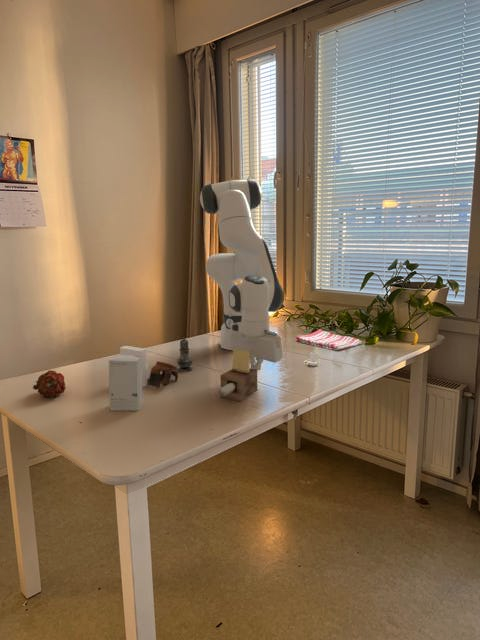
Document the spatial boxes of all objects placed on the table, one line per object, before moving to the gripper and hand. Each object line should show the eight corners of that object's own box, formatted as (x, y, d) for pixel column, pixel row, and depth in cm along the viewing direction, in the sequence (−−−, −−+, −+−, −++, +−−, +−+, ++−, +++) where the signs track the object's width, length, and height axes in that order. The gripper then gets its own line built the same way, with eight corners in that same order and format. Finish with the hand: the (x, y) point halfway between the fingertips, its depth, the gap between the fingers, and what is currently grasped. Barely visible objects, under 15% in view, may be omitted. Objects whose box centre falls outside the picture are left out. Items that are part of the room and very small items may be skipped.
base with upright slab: (154, 381, 156) (152, 346, 154) (135, 390, 149) (133, 353, 146) (134, 377, 161) (132, 343, 158) (114, 385, 153) (112, 349, 151)
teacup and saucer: (314, 369, 170) (314, 358, 169) (297, 364, 176) (298, 353, 175) (329, 364, 175) (330, 353, 174) (313, 359, 181) (314, 349, 180)
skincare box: (109, 411, 132) (106, 360, 129) (115, 403, 138) (112, 354, 135) (139, 411, 132) (136, 360, 129) (143, 403, 138) (141, 354, 135)
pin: (245, 381, 150) (245, 369, 149) (256, 383, 148) (256, 371, 147) (217, 397, 137) (216, 384, 136) (228, 399, 135) (228, 386, 134)
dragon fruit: (56, 407, 139) (45, 401, 149) (77, 385, 143) (64, 381, 153) (35, 388, 136) (25, 383, 145) (57, 366, 139) (46, 363, 149)
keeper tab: (231, 371, 144) (233, 370, 145) (247, 374, 141) (249, 373, 142) (233, 348, 143) (235, 348, 144) (249, 351, 141) (251, 351, 141)
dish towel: (319, 335, 218) (319, 328, 218) (362, 345, 202) (362, 337, 201) (294, 342, 207) (294, 334, 206) (338, 352, 190) (338, 344, 190)
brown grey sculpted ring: (142, 383, 156) (150, 360, 158) (167, 392, 160) (175, 368, 162) (153, 385, 146) (162, 359, 147) (180, 394, 149) (188, 369, 151)
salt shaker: (190, 372, 165) (189, 339, 163) (174, 371, 167) (173, 338, 164) (195, 367, 171) (194, 335, 169) (179, 366, 172) (178, 334, 170)
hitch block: (238, 387, 151) (237, 366, 149) (257, 391, 147) (257, 369, 146) (220, 397, 142) (220, 375, 141) (240, 401, 139) (240, 378, 137)
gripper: (287, 331, 144) (286, 374, 147) (240, 321, 158) (240, 360, 161) (273, 335, 139) (273, 379, 143) (226, 324, 154) (227, 364, 157)
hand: (255, 369), depth 152 cm, fingers closed
